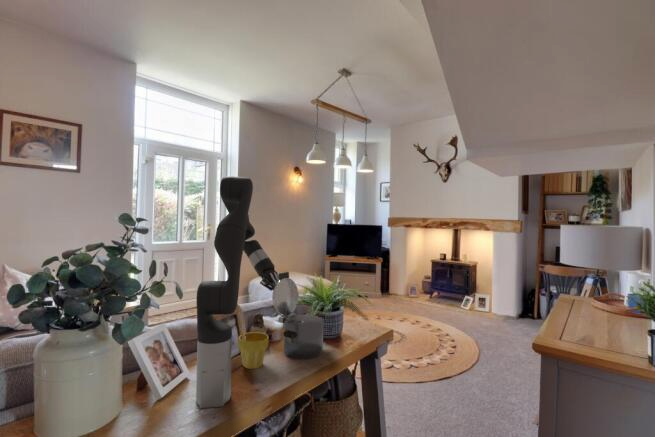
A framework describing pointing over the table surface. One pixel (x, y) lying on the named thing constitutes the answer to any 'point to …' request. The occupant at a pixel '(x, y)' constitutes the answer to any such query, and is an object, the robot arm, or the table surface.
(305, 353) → the cooker pot
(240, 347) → the plant pot
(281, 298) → the cooker lid
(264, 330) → the figurine
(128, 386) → the table surface
